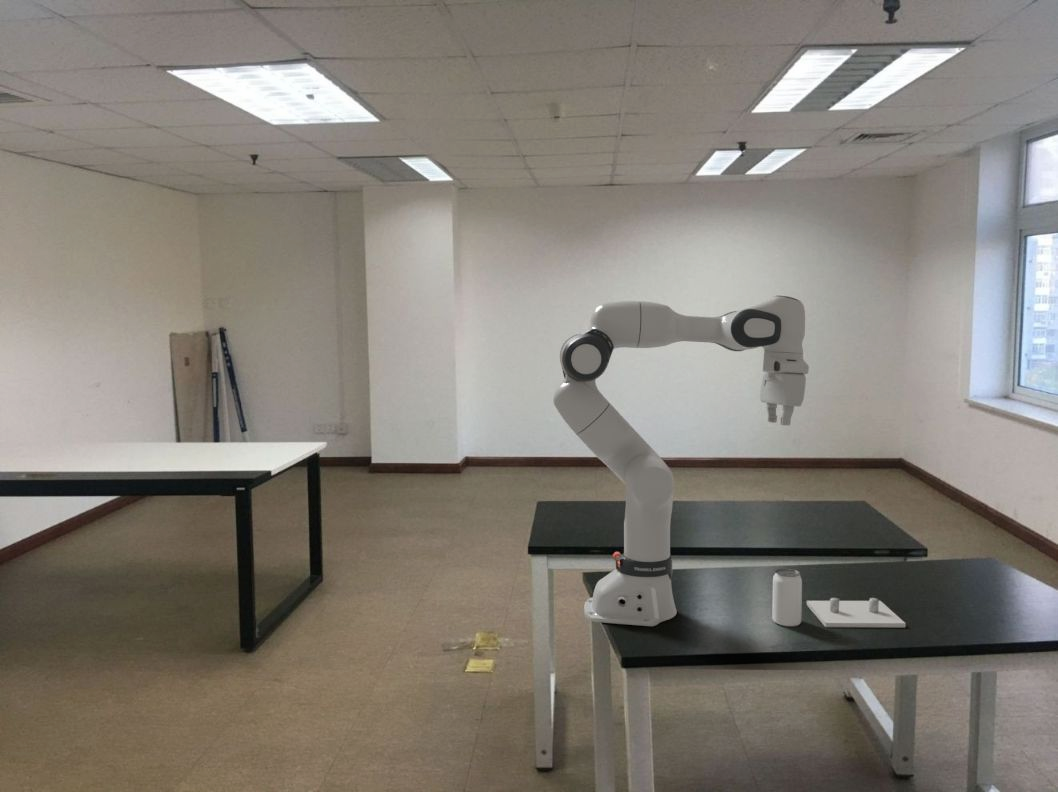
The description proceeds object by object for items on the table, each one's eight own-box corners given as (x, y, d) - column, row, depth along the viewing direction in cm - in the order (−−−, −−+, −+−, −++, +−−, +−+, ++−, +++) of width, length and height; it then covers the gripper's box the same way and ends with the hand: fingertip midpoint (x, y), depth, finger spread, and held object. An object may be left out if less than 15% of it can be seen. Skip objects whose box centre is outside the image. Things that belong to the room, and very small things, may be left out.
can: (805, 621, 179) (806, 571, 178) (794, 629, 175) (794, 578, 173) (779, 614, 184) (780, 566, 182) (767, 622, 179) (768, 572, 178)
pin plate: (825, 627, 176) (825, 610, 175) (806, 604, 190) (806, 588, 189) (905, 627, 175) (905, 610, 174) (880, 604, 189) (880, 589, 188)
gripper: (756, 364, 190) (752, 420, 191) (783, 364, 170) (779, 426, 170) (781, 366, 190) (777, 421, 191) (811, 366, 170) (807, 427, 171)
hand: (778, 423), depth 181 cm, fingers open, 8 cm apart
